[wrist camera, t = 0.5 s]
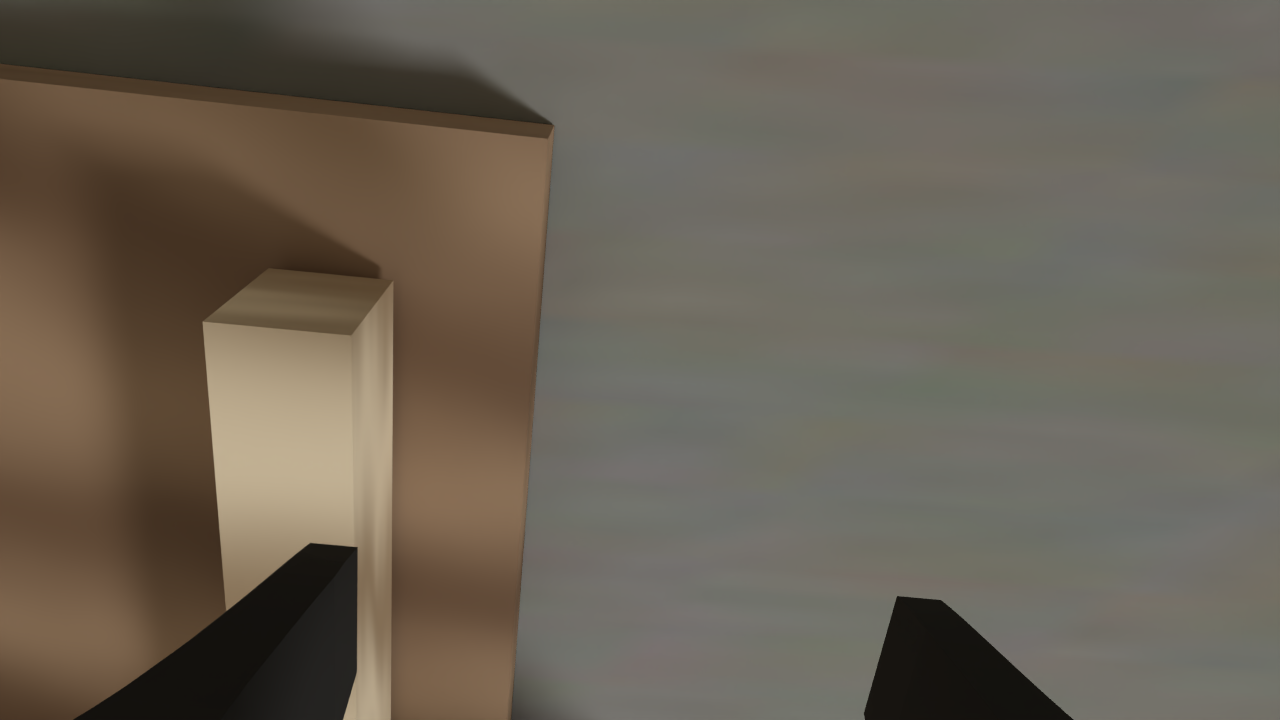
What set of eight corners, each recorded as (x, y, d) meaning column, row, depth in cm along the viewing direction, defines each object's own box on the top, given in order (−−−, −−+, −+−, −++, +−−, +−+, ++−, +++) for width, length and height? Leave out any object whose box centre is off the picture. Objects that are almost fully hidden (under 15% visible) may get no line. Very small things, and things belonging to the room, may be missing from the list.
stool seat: (503, 821, 26) (480, 991, 22) (-217, 776, 25) (-398, 947, 20) (554, 125, 19) (534, 168, 14) (-482, 10, 17) (-862, 19, 13)
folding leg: (406, 818, 23) (377, 931, 20) (280, 810, 23) (233, 923, 20) (414, 282, 18) (375, 338, 15) (247, 265, 17) (177, 319, 15)
